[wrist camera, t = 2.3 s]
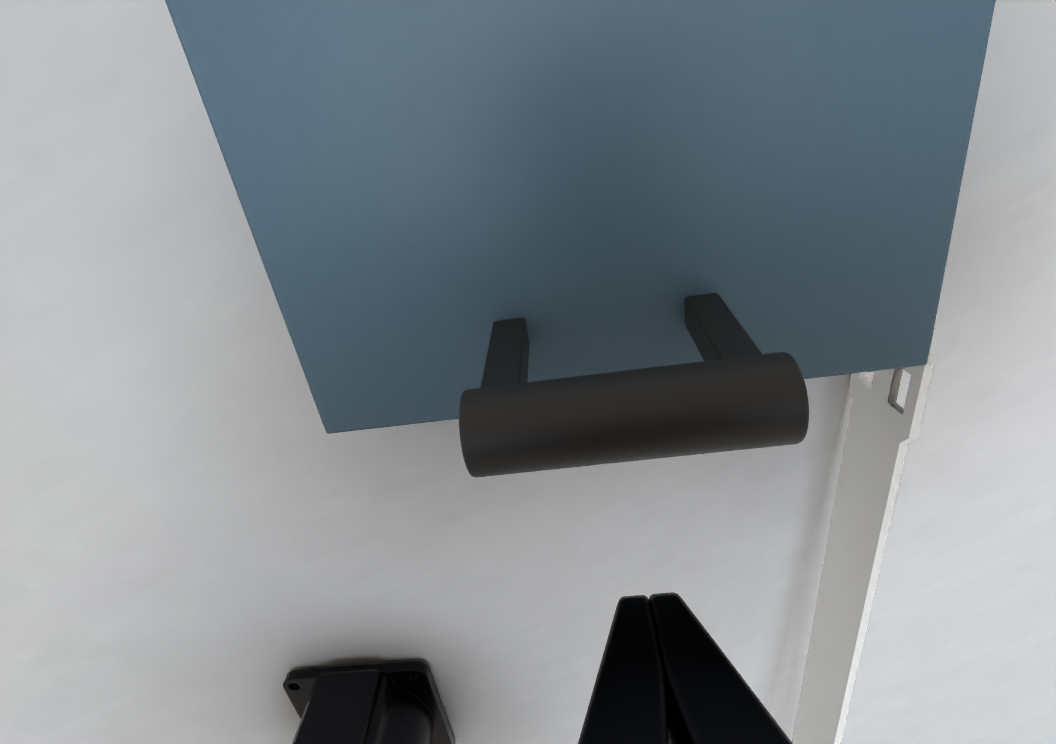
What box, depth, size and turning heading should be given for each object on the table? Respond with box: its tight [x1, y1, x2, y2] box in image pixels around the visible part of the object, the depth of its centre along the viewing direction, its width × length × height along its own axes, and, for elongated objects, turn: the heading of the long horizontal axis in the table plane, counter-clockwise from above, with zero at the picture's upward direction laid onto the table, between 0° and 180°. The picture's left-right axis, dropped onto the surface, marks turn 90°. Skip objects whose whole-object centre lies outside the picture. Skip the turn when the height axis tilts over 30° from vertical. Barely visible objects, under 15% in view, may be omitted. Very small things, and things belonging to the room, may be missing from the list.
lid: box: [165, 0, 995, 477], centre depth 10 cm, size 9×14×5 cm, turn 99°
